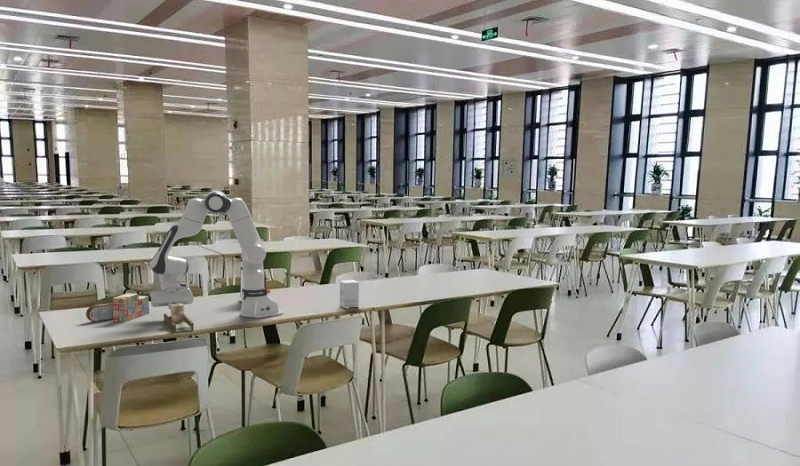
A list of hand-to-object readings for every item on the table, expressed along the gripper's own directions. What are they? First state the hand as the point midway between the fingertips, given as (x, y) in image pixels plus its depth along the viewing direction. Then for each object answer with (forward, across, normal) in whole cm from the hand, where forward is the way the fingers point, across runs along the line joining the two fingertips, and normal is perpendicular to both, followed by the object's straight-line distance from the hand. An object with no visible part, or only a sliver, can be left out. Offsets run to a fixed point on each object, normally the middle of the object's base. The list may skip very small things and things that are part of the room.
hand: (174, 311), depth 302 cm
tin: (-8, -31, +16) cm, 36 cm away
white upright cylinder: (-18, +50, +25) cm, 59 cm away
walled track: (+10, 0, -3) cm, 10 cm away
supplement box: (+8, +95, 0) cm, 95 cm away
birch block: (+7, 0, -3) cm, 8 cm away
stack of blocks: (-9, -17, +17) cm, 26 cm away
